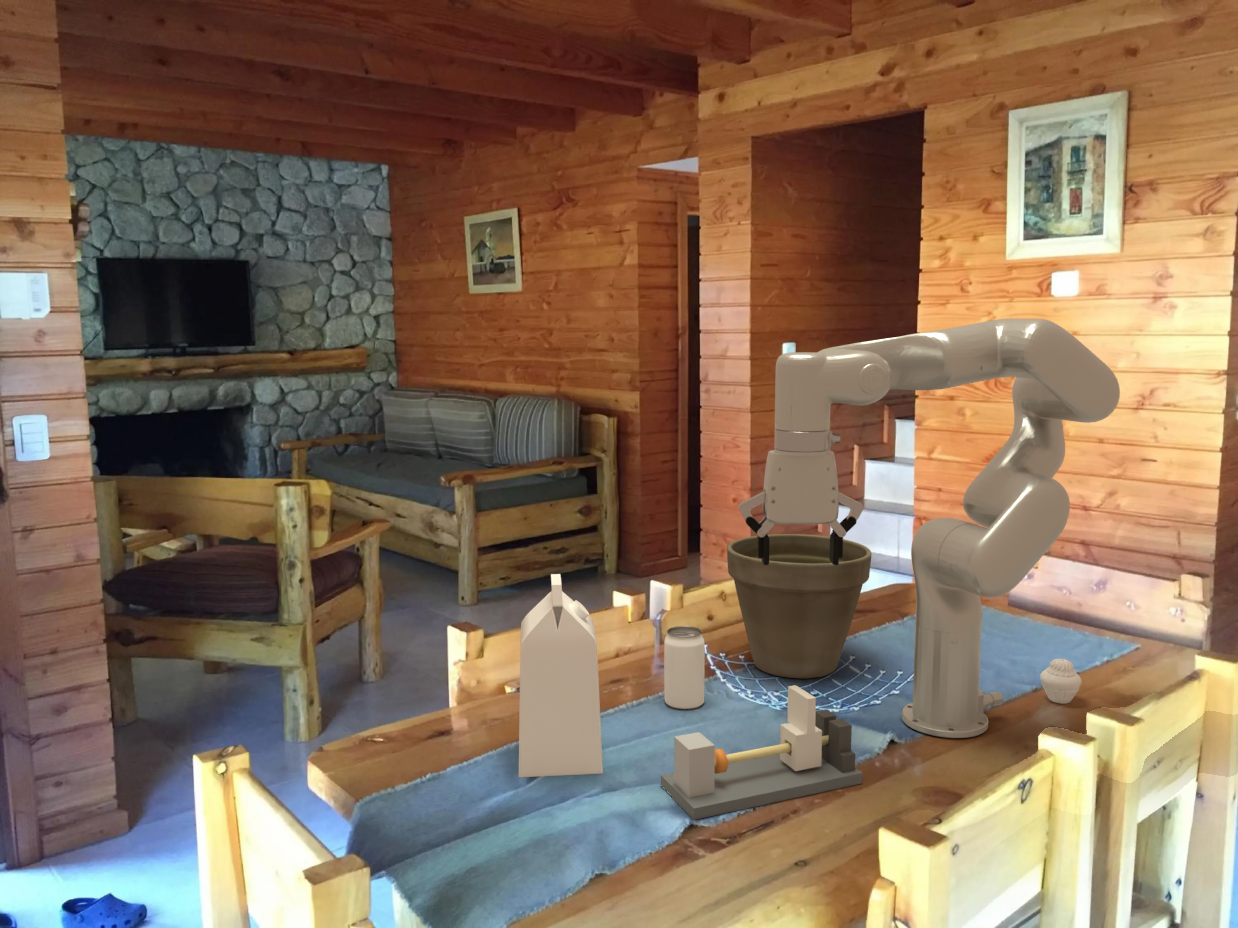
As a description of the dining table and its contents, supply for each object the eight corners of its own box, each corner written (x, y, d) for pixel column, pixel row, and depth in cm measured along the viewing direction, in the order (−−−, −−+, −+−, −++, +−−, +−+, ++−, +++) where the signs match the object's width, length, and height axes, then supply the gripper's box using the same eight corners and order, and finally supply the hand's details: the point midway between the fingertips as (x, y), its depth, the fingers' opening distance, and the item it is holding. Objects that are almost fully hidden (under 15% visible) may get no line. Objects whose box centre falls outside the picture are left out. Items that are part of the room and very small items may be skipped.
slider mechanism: (820, 753, 144) (821, 700, 143) (862, 783, 135) (863, 727, 134) (660, 785, 135) (660, 729, 134) (693, 819, 126) (693, 759, 125)
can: (701, 711, 160) (702, 638, 158) (661, 708, 161) (661, 636, 159) (706, 696, 166) (706, 626, 164) (667, 693, 167) (667, 624, 166)
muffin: (1086, 699, 163) (1088, 657, 162) (1072, 710, 159) (1075, 667, 158) (1047, 689, 168) (1049, 649, 166) (1032, 700, 163) (1035, 658, 162)
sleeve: (803, 752, 140) (804, 683, 138) (823, 767, 135) (824, 696, 134) (778, 757, 138) (779, 687, 137) (797, 772, 134) (798, 700, 132)
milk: (519, 740, 150) (515, 569, 146) (597, 737, 151) (594, 567, 147) (518, 777, 138) (513, 592, 134) (602, 773, 139) (600, 589, 135)
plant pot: (823, 636, 196) (825, 527, 193) (896, 679, 173) (900, 556, 170) (704, 651, 188) (704, 537, 185) (764, 698, 165) (765, 569, 162)
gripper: (859, 438, 143) (855, 556, 146) (736, 439, 144) (735, 556, 146) (870, 445, 136) (867, 569, 138) (741, 446, 136) (740, 569, 139)
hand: (799, 562), depth 142 cm, fingers open, 9 cm apart
